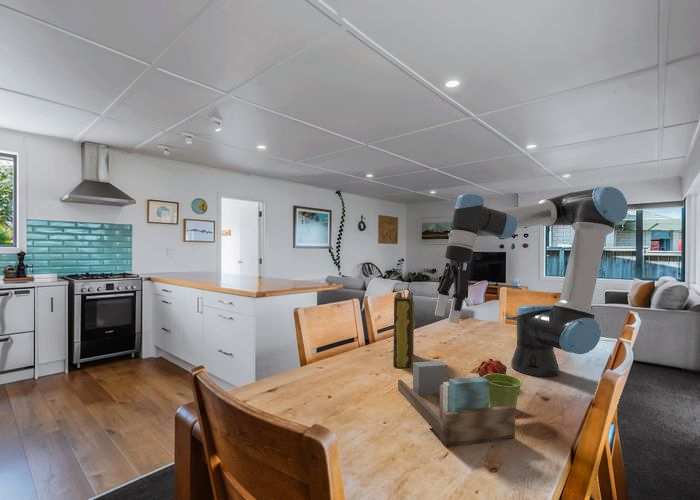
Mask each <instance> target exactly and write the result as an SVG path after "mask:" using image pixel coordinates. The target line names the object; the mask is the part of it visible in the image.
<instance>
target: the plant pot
mask: <svg viewBox="0 0 700 500" xmlns="http://www.w3.org/2000/svg"><path fill="white" fill-rule="evenodd" d="M483 378H485V379H487V380H488V381H489V408H492V407H502V406H513V407H515V412H516V410H517V404H518V397H519V392H520V389H521V386H523V381H522V380H521V379H520V378H518V377H515V376H513V375H509V374H507V375H505V374H487V375H484V376H483Z"/></svg>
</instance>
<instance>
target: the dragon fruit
mask: <svg viewBox="0 0 700 500" xmlns="http://www.w3.org/2000/svg"><path fill="white" fill-rule="evenodd" d="M507 370H508V369H507V366H506V365H505V364H503V363H502V361H501V360H498V359H495V360H493V358H488V361H485V360H484V361H482V362H481V363H480V364H479V366H478V368H477V373H478V377H483V376H484V375H487V374H505V375H508V374H507Z"/></svg>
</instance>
